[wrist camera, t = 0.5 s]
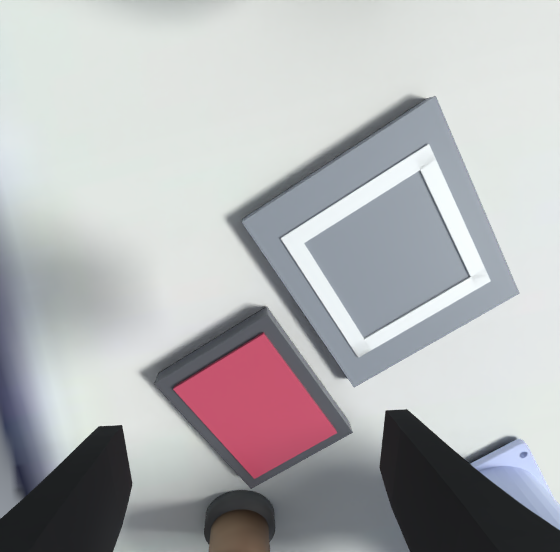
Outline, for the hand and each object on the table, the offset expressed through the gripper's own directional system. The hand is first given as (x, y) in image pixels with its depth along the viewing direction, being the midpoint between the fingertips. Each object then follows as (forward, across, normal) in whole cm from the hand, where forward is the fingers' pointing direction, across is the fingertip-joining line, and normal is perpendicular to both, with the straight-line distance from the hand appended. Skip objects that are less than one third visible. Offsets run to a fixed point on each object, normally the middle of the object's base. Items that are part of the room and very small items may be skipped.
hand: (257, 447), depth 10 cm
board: (+10, -7, -3) cm, 12 cm away
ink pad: (+10, 0, +6) cm, 11 cm away
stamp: (+10, +1, +15) cm, 18 cm away
